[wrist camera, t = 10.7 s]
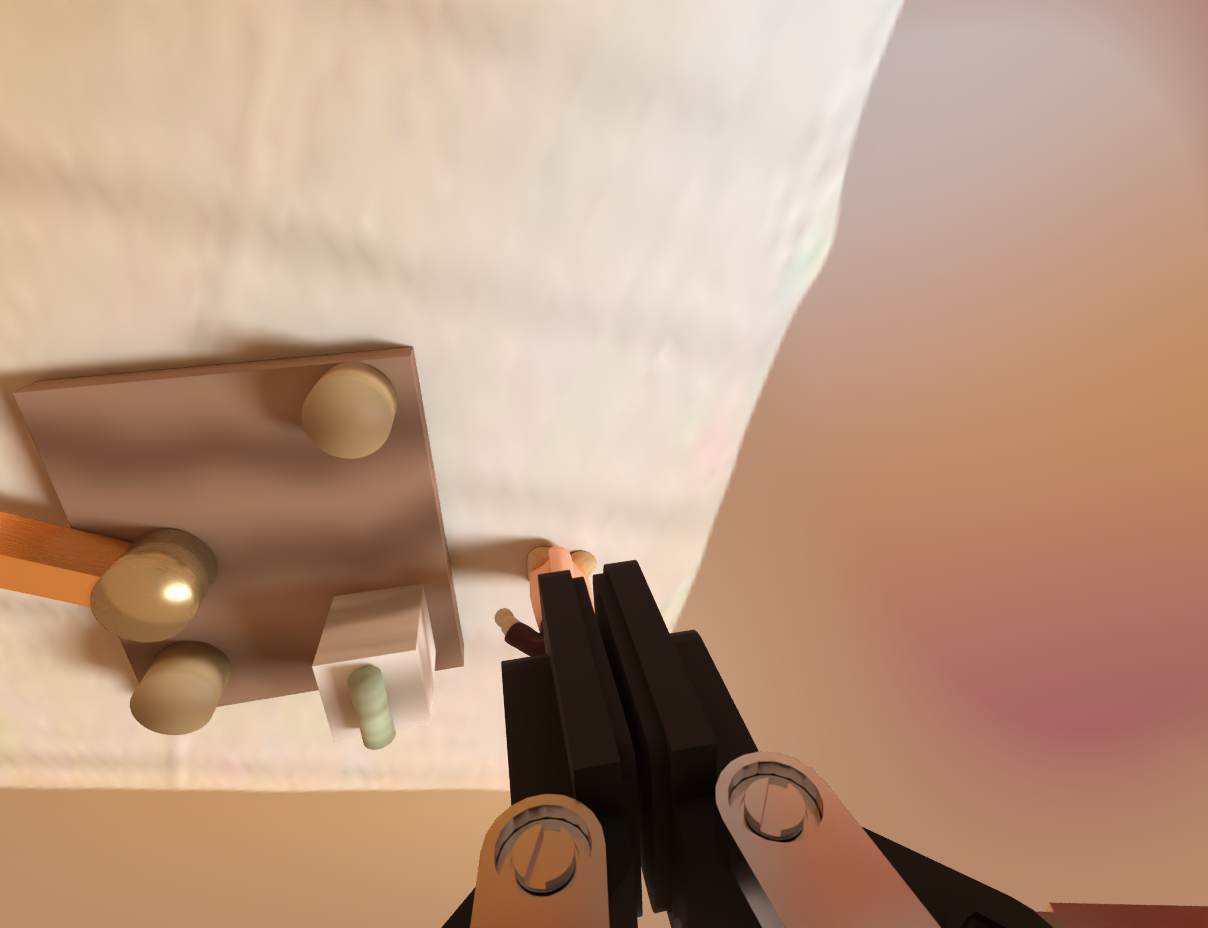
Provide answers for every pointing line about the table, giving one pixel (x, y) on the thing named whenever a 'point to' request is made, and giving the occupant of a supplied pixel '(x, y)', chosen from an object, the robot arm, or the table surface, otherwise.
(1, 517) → the orange lever bar
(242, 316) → the table surface
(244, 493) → the base
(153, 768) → the table surface
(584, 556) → the grandmother figurine
